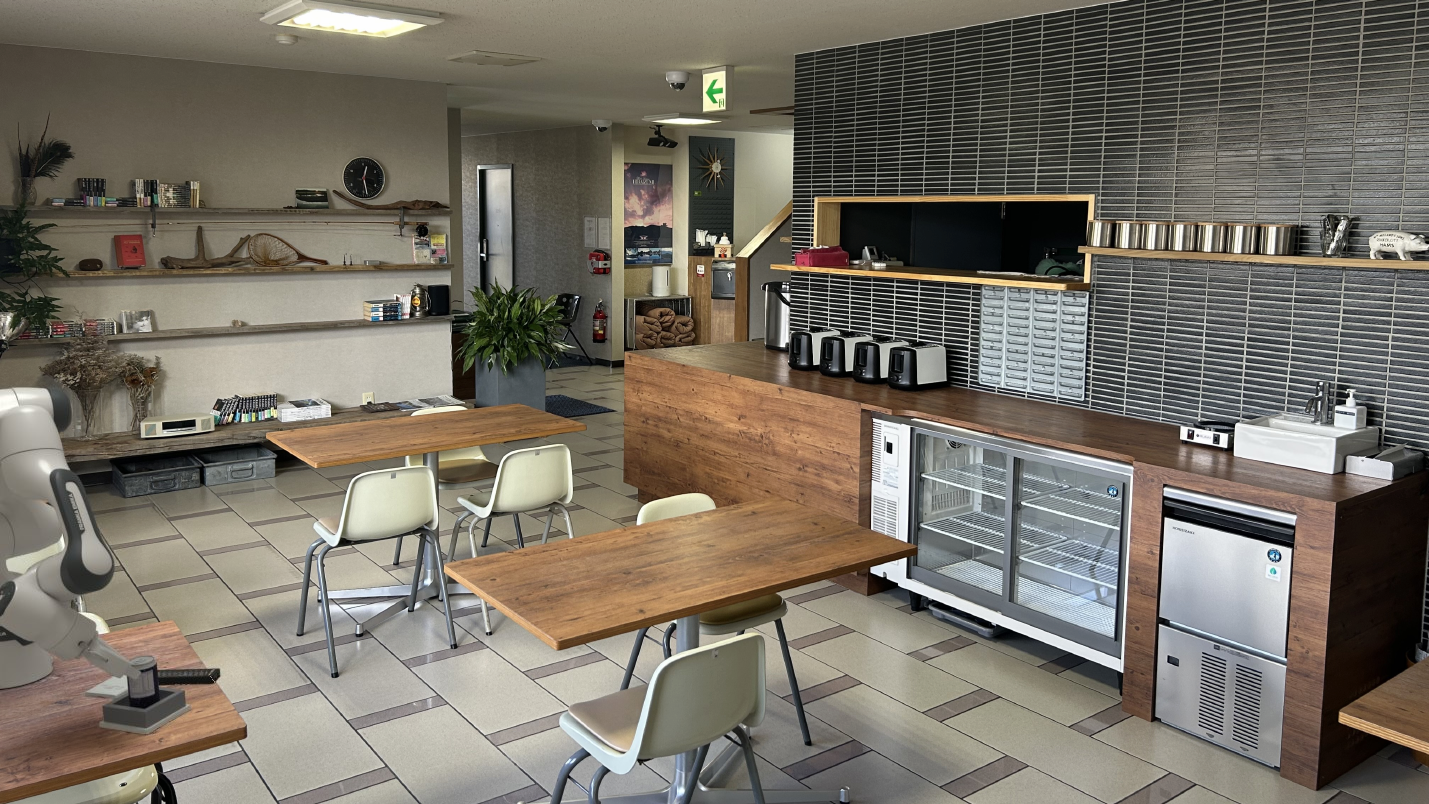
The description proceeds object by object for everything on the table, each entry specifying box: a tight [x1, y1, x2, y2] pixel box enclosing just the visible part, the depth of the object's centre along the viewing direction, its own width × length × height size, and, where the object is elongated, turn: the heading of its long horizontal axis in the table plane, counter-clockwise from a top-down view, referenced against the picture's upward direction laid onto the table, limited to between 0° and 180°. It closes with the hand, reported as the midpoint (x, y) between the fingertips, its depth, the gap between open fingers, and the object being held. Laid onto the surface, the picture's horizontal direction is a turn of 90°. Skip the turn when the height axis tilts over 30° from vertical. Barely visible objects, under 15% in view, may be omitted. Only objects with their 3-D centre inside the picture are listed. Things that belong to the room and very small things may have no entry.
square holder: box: [98, 686, 192, 735], centre depth 221 cm, size 12×12×4 cm
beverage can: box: [127, 654, 160, 709], centre depth 220 cm, size 6×6×12 cm
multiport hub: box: [157, 667, 222, 686], centre depth 239 cm, size 4×14×2 cm, turn 94°
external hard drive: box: [84, 675, 128, 700], centre depth 237 cm, size 2×8×12 cm
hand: (129, 668), depth 218 cm, fingers open, 8 cm apart
